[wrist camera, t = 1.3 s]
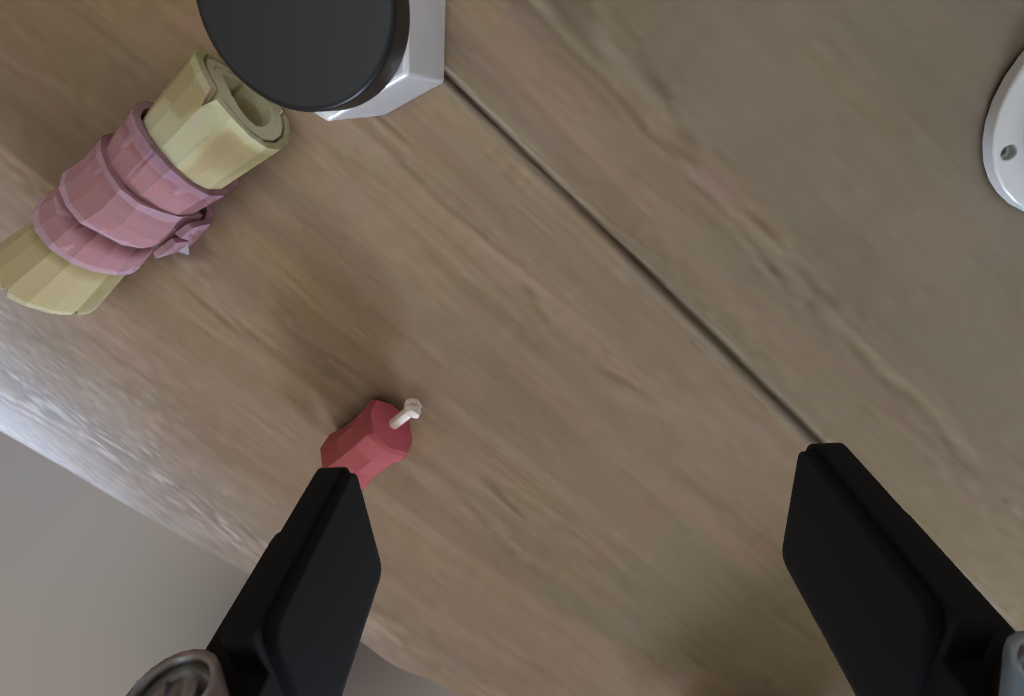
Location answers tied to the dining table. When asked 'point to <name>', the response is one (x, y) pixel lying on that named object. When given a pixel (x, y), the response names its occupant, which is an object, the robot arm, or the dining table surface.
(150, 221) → the scroll
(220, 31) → the jar
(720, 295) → the dining table surface
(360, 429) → the meat
